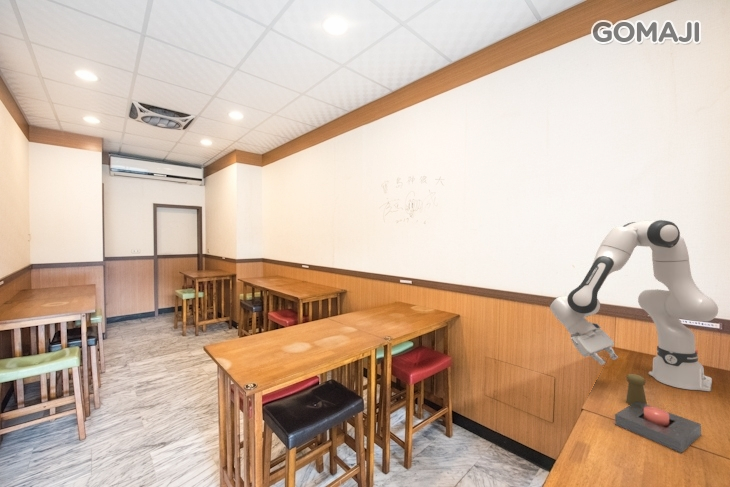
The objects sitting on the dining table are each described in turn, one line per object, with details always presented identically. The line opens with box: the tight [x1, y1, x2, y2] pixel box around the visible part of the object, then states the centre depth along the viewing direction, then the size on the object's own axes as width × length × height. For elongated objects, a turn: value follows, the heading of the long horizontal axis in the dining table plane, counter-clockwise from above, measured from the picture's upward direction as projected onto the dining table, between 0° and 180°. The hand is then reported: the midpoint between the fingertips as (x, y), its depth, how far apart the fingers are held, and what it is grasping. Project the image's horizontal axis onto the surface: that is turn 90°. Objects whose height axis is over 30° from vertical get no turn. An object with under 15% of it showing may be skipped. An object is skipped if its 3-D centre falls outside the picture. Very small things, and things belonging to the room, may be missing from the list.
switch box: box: [614, 401, 702, 454], centre depth 98 cm, size 16×16×4 cm
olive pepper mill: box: [625, 373, 648, 406], centre depth 113 cm, size 6×6×11 cm
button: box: [644, 405, 670, 428], centre depth 98 cm, size 6×6×4 cm
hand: (610, 361), depth 120 cm, fingers open, 8 cm apart
